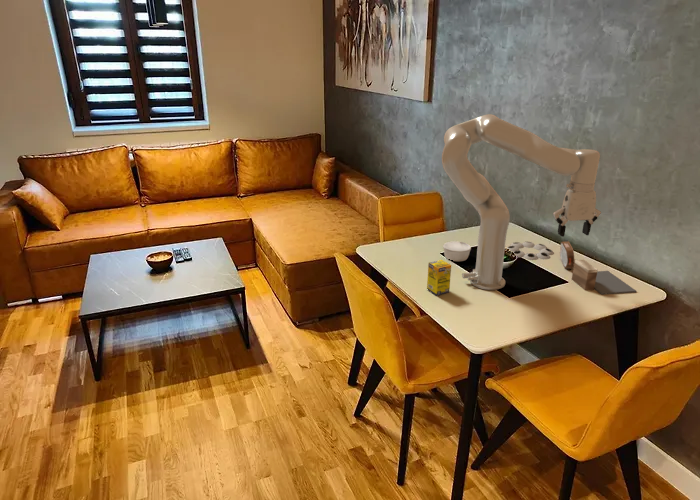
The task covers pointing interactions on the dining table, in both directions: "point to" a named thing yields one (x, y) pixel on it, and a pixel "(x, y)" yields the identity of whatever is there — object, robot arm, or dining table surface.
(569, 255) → the tin
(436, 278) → the supplement box
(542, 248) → the paint palette
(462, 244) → the ramekin
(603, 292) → the mat
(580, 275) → the block
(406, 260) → the dining table surface
